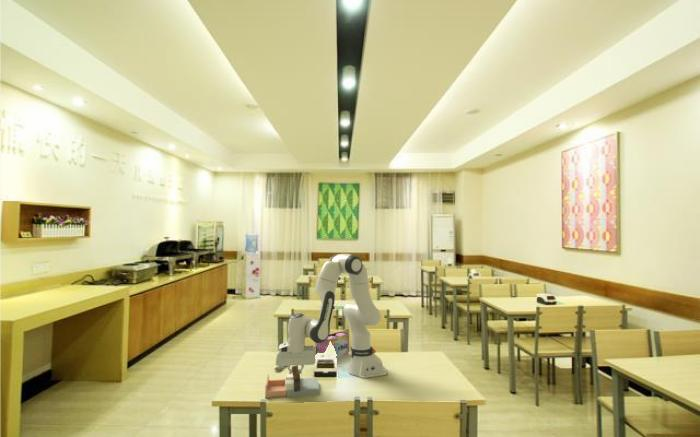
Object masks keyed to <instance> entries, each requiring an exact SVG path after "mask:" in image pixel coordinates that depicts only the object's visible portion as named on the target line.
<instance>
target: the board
mask: <svg viewBox="0 0 700 437" xmlns="http://www.w3.org/2000/svg"><path fill="white" fill-rule="evenodd" d="M300 386H301V391H297V392H294V390H286V397H287V398H290V397H306V396H319V395H320V386H319V379H318V377H304V378H301V377H300Z"/></svg>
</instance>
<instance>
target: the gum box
mask: <svg viewBox="0 0 700 437" xmlns="http://www.w3.org/2000/svg"><path fill="white" fill-rule="evenodd" d="M349 335H350V334H349V333H346V332H345V331H337V332H334V333H333V332H332V333H330V334H329V337H328V338H327V340H326V341H324V342H323V343H315V342H314V343H315V345H314V347H316V353H315V355H316V354H317V353H324V352H325V351H326V349H327V347H328V345H329V342H330V341H331V343H332V345H333V346H334V348H335V351H336V354H337V356H336V358H335V359H337V358H340V357H344V356H347V355H349Z"/></svg>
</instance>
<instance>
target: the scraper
mask: <svg viewBox="0 0 700 437" xmlns="http://www.w3.org/2000/svg"><path fill="white" fill-rule="evenodd" d="M291 369H292V374H293V379H294V392H297V391H301V386H300V379H301V374H299V365H291Z"/></svg>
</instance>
